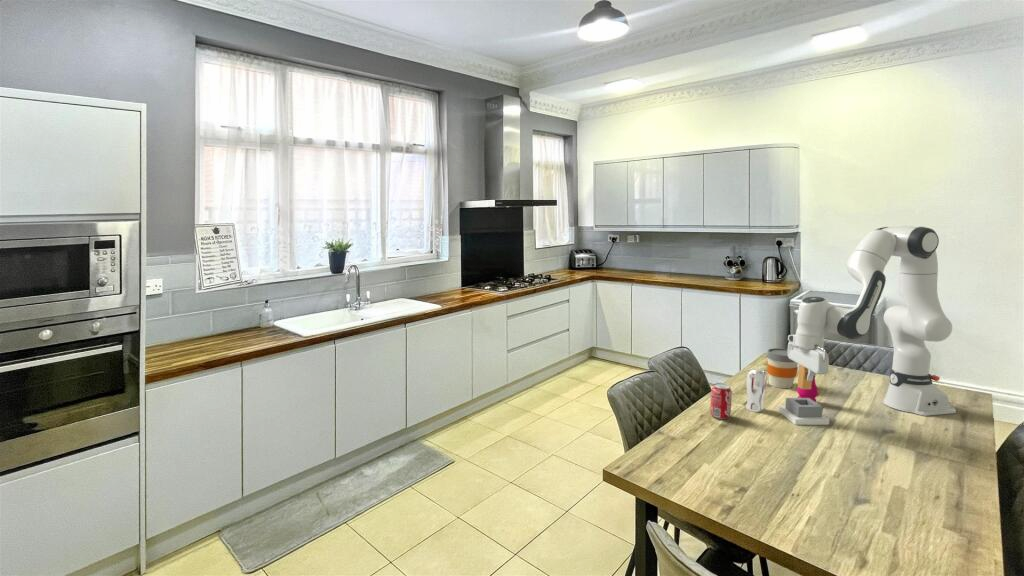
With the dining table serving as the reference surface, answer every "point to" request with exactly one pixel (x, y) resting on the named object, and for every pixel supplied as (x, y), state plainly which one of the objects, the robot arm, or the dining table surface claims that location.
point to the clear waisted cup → (755, 389)
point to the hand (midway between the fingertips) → (805, 378)
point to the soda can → (721, 401)
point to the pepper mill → (809, 391)
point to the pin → (803, 378)
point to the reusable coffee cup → (780, 368)
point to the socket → (803, 412)
